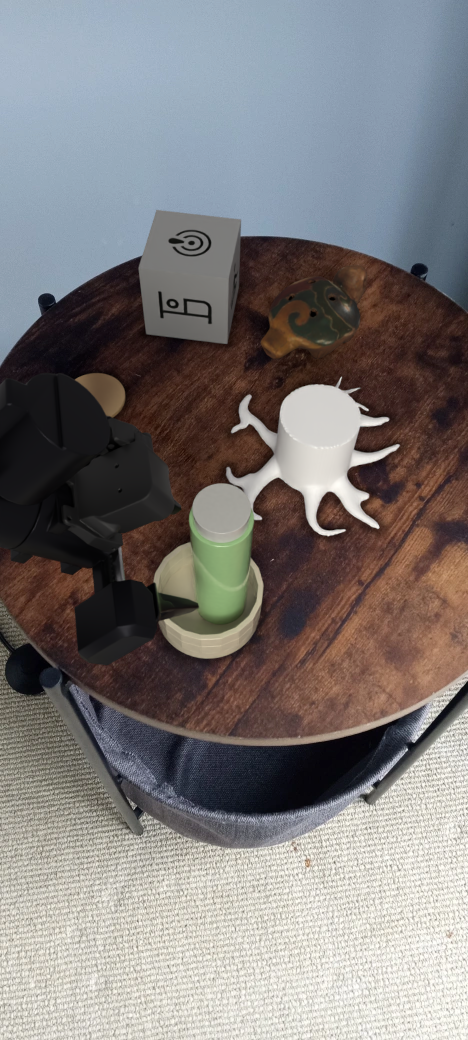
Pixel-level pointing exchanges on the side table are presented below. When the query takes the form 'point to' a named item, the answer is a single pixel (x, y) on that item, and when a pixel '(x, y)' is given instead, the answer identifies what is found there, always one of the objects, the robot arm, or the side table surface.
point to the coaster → (105, 391)
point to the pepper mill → (221, 551)
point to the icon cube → (190, 276)
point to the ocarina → (315, 314)
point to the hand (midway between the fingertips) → (186, 557)
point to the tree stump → (313, 449)
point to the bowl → (191, 628)
